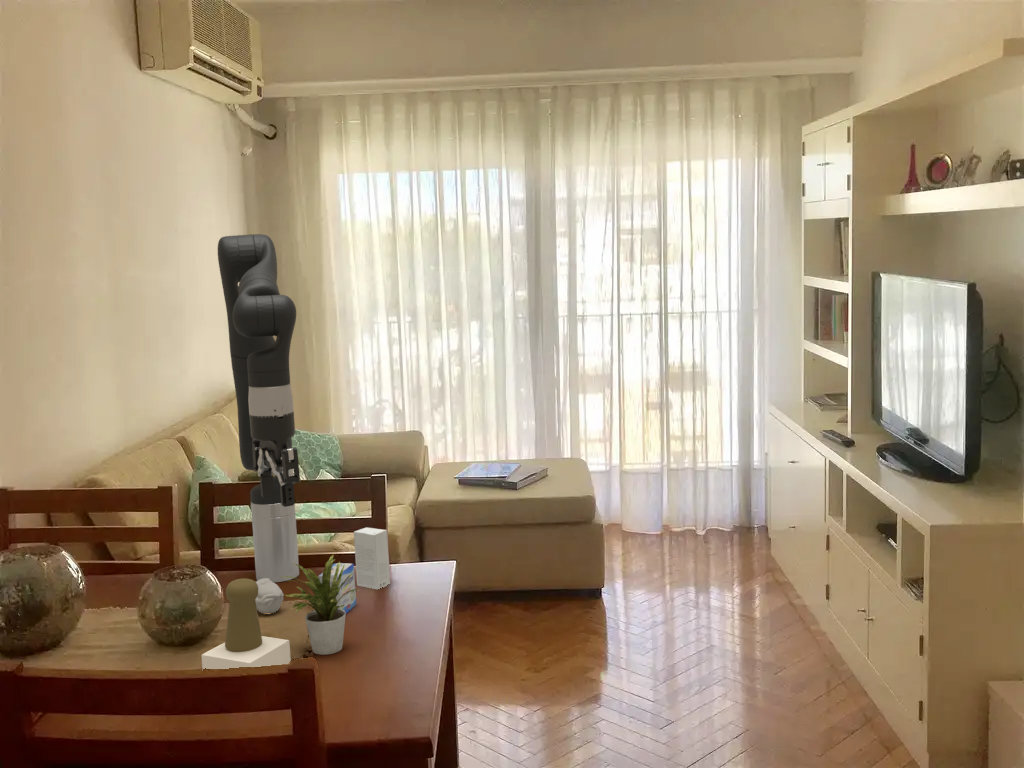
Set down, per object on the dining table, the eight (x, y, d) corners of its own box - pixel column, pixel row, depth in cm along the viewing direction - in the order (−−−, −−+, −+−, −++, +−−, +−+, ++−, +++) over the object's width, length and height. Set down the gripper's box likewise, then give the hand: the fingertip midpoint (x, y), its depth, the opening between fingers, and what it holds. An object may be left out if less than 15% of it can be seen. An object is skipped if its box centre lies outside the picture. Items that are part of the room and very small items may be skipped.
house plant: (292, 633, 176) (286, 547, 174) (367, 629, 176) (363, 543, 175) (278, 664, 161) (271, 571, 160) (360, 660, 162) (354, 567, 160)
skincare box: (391, 584, 202) (388, 529, 201) (377, 590, 198) (374, 534, 197) (369, 580, 205) (366, 526, 204) (355, 586, 202) (352, 531, 200)
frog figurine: (266, 606, 191) (264, 572, 190) (292, 611, 188) (290, 577, 187) (243, 616, 186) (241, 581, 185) (269, 621, 182) (267, 586, 182)
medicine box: (342, 619, 182) (339, 575, 181) (320, 618, 183) (317, 574, 182) (356, 605, 190) (354, 563, 189) (335, 604, 191) (333, 562, 190)
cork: (231, 634, 162) (229, 573, 160) (266, 636, 162) (265, 575, 160) (219, 651, 156) (217, 587, 154) (256, 652, 156) (254, 589, 154)
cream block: (203, 684, 156) (201, 654, 155) (244, 660, 165) (242, 632, 164) (252, 693, 152) (249, 663, 151) (291, 668, 161) (289, 640, 160)
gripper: (235, 408, 169) (241, 497, 171) (267, 418, 157) (274, 513, 160) (274, 403, 173) (280, 490, 175) (309, 412, 162) (315, 504, 164)
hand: (277, 501), depth 168 cm, fingers open, 8 cm apart
